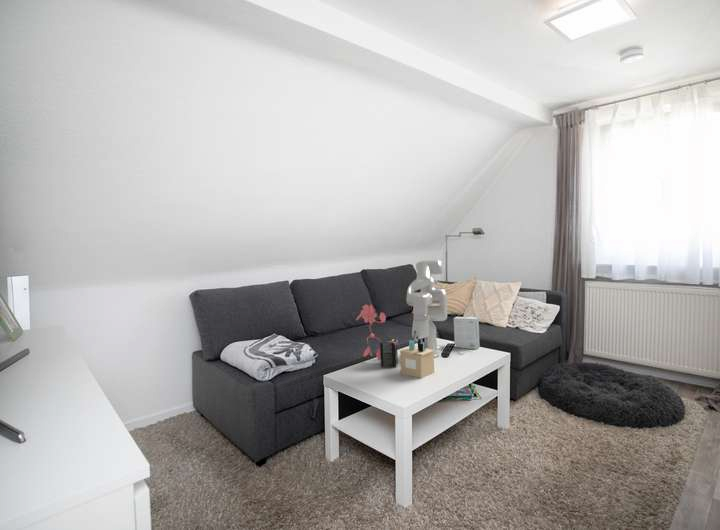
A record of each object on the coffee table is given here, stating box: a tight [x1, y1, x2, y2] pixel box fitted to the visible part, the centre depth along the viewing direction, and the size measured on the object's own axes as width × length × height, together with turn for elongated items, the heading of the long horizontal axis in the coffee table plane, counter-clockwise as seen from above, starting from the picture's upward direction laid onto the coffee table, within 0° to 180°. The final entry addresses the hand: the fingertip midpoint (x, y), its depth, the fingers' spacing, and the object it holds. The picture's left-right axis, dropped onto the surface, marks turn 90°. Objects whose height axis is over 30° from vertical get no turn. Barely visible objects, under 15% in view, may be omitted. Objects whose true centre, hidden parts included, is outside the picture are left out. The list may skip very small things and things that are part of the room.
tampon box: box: [379, 338, 399, 368], centre depth 245 cm, size 11×9×15 cm
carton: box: [399, 340, 435, 379], centre depth 228 cm, size 12×15×17 cm
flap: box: [413, 342, 434, 356], centre depth 224 cm, size 11×6×5 cm, turn 136°
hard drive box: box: [453, 316, 481, 350], centre depth 278 cm, size 16×8×20 cm, turn 60°
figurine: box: [355, 303, 387, 364], centre depth 256 cm, size 15×26×35 cm, turn 46°
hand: (421, 350), depth 225 cm, fingers closed
